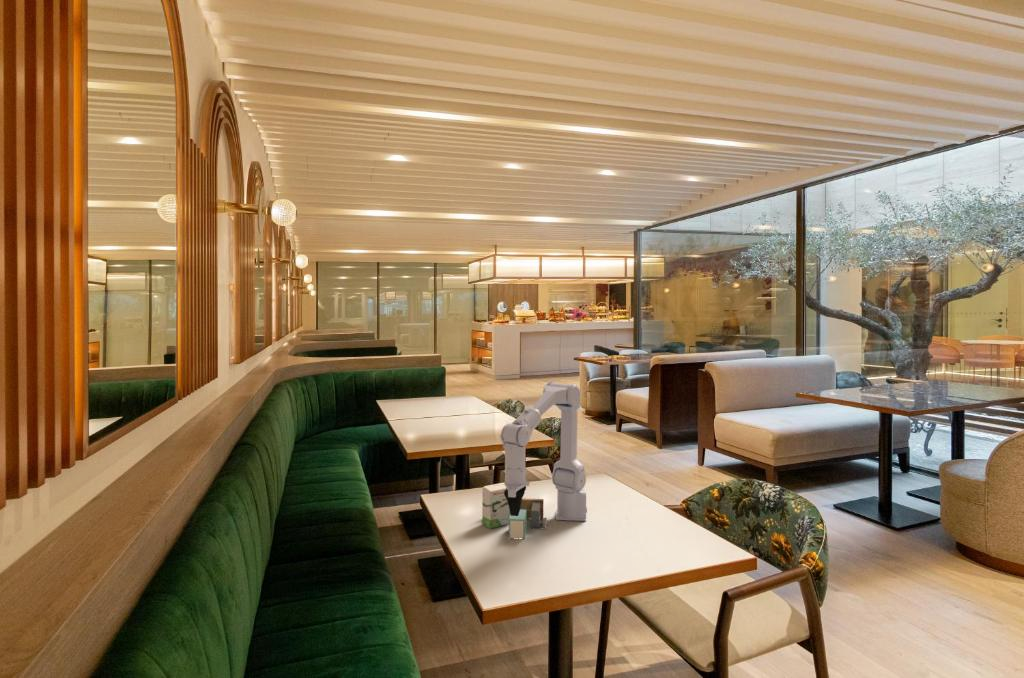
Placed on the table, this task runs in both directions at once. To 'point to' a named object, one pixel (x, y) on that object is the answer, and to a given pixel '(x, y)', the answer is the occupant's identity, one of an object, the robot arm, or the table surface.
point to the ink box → (495, 506)
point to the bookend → (537, 517)
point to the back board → (527, 505)
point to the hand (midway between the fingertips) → (515, 513)
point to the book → (518, 525)
